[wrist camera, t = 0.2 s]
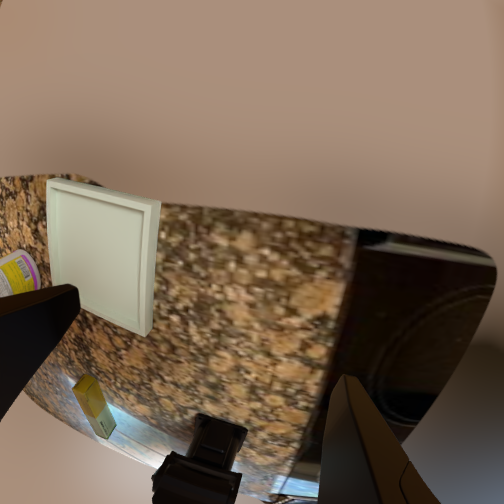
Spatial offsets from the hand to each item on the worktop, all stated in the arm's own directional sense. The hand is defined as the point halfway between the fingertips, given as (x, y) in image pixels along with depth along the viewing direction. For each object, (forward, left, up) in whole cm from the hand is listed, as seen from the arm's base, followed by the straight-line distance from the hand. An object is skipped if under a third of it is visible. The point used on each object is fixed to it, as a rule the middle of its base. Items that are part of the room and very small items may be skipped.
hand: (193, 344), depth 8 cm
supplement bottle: (-14, +29, -15) cm, 36 cm away
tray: (-7, +15, -15) cm, 22 cm away
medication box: (-34, +19, -15) cm, 42 cm away
